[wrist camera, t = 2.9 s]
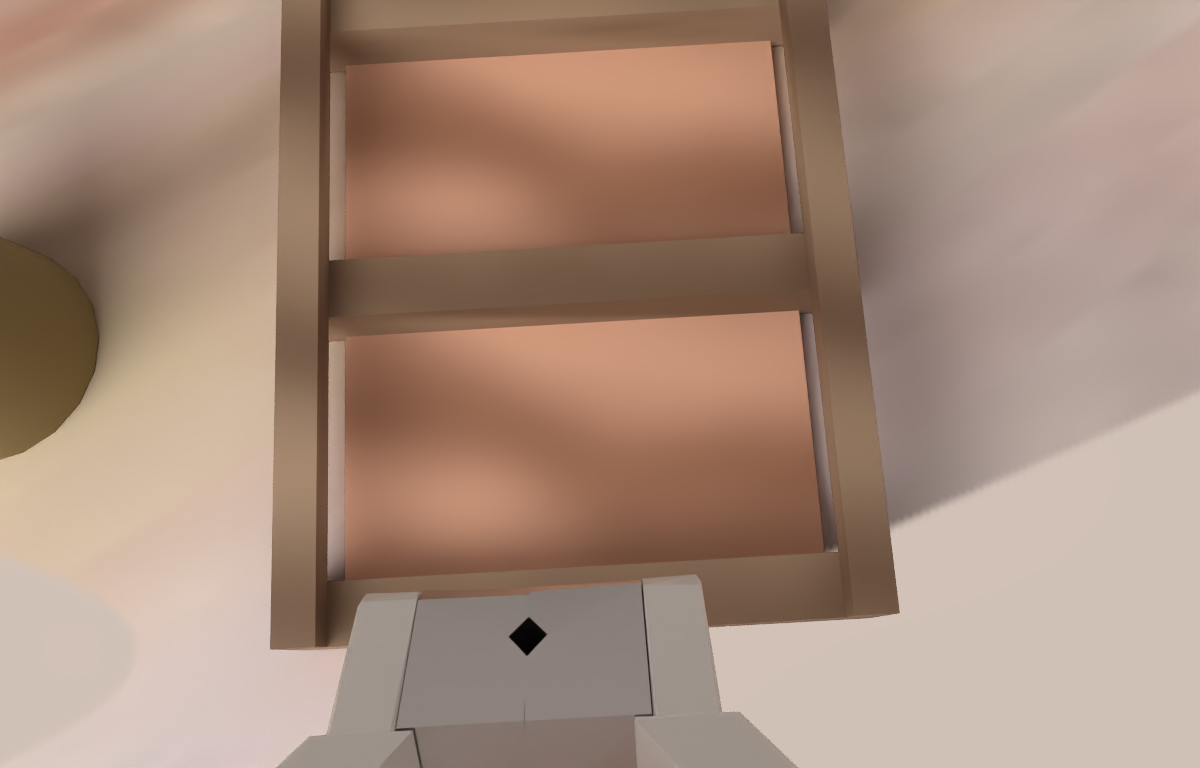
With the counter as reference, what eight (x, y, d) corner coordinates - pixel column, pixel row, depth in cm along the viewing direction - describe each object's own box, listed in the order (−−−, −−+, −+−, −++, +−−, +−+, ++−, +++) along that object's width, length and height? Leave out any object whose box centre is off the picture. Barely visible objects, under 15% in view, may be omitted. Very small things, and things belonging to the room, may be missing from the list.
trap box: (317, -324, 34) (255, -524, 29) (759, -351, 34) (787, -556, 29) (307, 650, 27) (222, 648, 21) (869, 618, 27) (938, 606, 21)
